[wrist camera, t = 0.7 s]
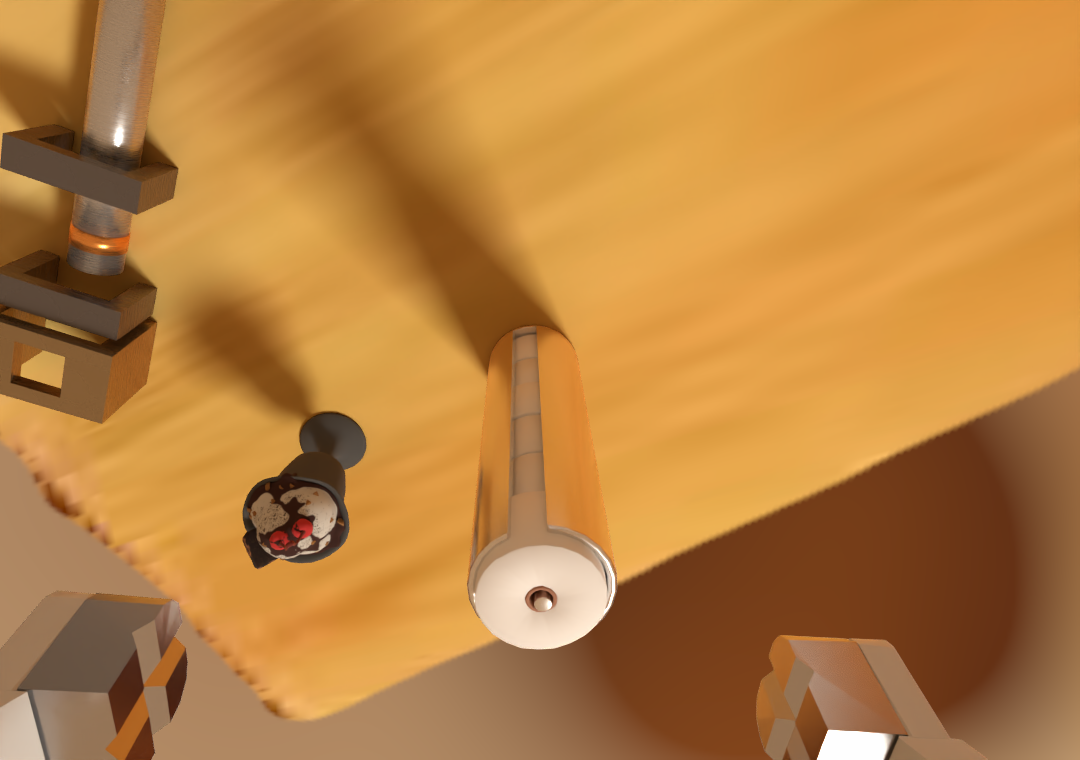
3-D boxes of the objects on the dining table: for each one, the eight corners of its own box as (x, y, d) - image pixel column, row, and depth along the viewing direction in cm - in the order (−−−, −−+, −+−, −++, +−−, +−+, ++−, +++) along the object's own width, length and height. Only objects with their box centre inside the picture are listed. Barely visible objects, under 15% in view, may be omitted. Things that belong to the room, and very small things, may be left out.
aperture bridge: (30, 281, 50) (-32, 312, 44) (157, 322, 51) (112, 356, 46) (24, 346, 52) (-37, 382, 46) (146, 383, 53) (101, 423, 48)
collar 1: (54, 124, 46) (3, 133, 41) (178, 168, 47) (141, 182, 43) (50, 155, 47) (0, 167, 42) (173, 198, 48) (136, 214, 43)
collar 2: (40, 250, 49) (-9, 271, 45) (157, 288, 50) (121, 312, 46) (37, 277, 50) (-11, 300, 45) (152, 314, 51) (116, 340, 47)
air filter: (477, 392, 54) (446, 644, 32) (504, 312, 52) (491, 524, 29) (561, 416, 55) (589, 677, 33) (590, 339, 53) (644, 563, 30)
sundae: (374, 402, 54) (326, 522, 41) (379, 479, 57) (335, 616, 44) (284, 400, 54) (204, 520, 41) (293, 478, 57) (222, 615, 43)
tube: (109, -43, 42) (97, -43, 39) (173, -19, 43) (165, -17, 40) (72, 249, 49) (59, 267, 46) (128, 262, 50) (119, 280, 47)
